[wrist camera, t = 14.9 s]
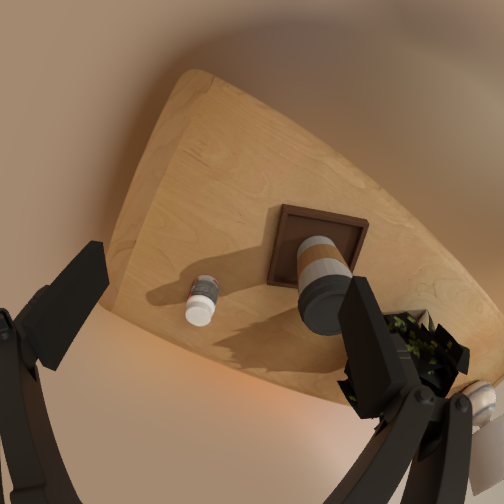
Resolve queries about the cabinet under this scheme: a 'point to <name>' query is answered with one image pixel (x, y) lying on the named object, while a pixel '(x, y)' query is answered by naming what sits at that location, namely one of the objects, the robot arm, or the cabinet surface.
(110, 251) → the cabinet surface
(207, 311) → the pill bottle
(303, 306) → the coffee cup
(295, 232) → the tray
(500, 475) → the lamp
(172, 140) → the cabinet surface
